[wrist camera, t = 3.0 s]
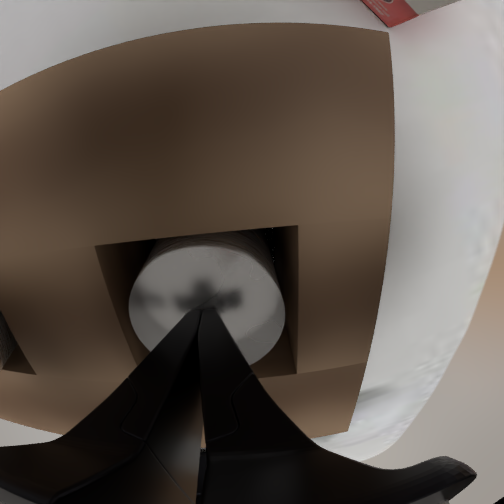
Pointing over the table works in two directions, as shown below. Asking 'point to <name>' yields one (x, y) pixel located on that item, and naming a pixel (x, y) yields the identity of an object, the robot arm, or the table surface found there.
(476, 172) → the table surface
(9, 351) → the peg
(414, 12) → the ink cartridge box
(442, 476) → the robot arm
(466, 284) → the table surface
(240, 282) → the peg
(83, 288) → the walnut block
